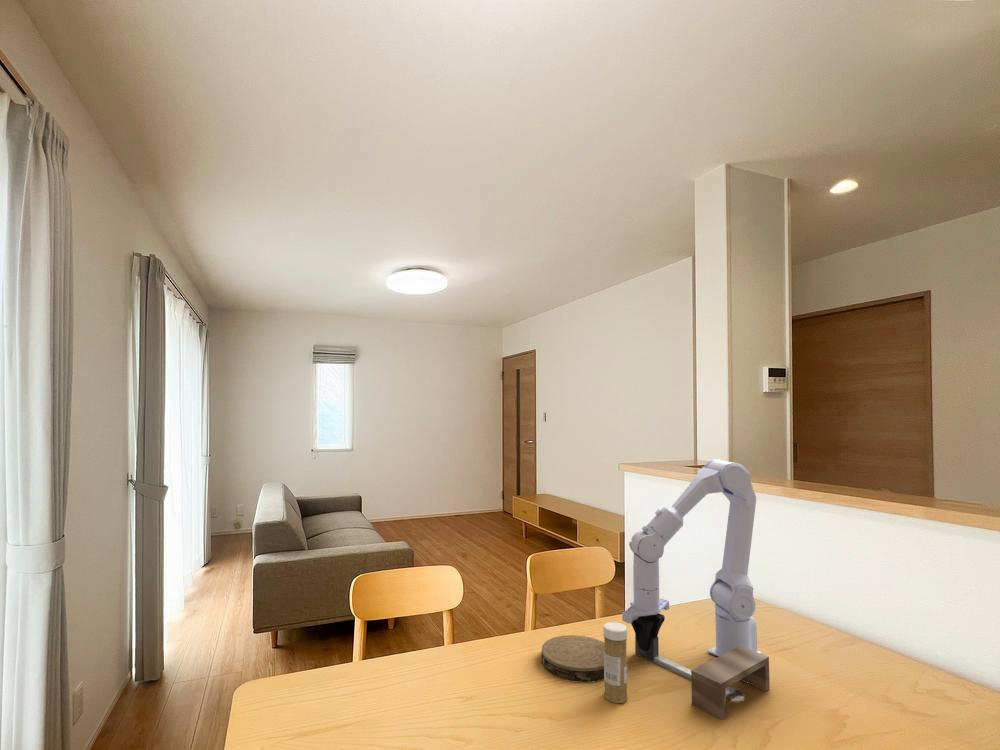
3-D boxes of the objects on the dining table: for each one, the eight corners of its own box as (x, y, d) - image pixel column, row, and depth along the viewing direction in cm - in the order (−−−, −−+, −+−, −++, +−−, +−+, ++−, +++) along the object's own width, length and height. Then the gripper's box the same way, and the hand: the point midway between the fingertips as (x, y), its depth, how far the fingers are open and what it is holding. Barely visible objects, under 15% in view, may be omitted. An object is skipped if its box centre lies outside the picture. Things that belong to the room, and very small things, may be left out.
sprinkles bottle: (632, 699, 99) (632, 627, 100) (615, 707, 96) (615, 632, 97) (615, 689, 102) (614, 619, 103) (598, 695, 100) (598, 624, 101)
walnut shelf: (740, 676, 108) (739, 645, 109) (769, 688, 103) (768, 656, 104) (691, 704, 97) (691, 670, 98) (721, 719, 93) (720, 683, 93)
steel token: (727, 689, 103) (726, 684, 104) (748, 699, 100) (748, 694, 100) (715, 696, 101) (715, 691, 101) (736, 707, 97) (736, 701, 97)
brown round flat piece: (592, 644, 123) (592, 631, 123) (629, 677, 108) (629, 662, 108) (530, 653, 118) (530, 640, 118) (560, 689, 103) (560, 673, 103)
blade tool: (630, 655, 117) (630, 632, 117) (644, 649, 120) (644, 627, 120) (701, 689, 103) (700, 663, 103) (714, 681, 106) (714, 656, 106)
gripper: (651, 576, 125) (651, 633, 124) (611, 587, 116) (611, 649, 115) (676, 584, 119) (677, 644, 118) (637, 596, 111) (637, 662, 110)
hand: (646, 648), depth 116 cm, fingers closed on blade tool, 2 cm apart
